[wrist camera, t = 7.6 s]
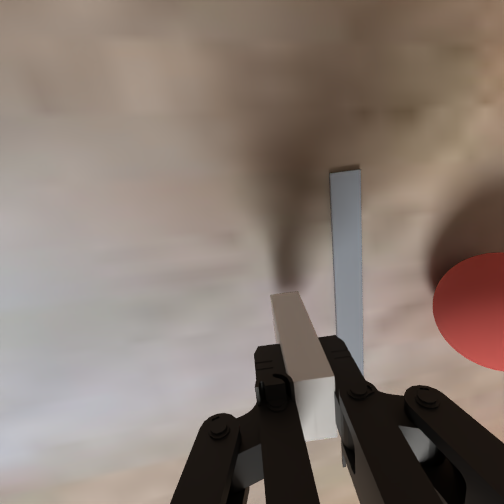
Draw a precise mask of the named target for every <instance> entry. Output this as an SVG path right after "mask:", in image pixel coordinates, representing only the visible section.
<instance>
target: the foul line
mask: <svg viewBox="0 0 504 504" xmlns="http://www.w3.org/2000/svg"><path fill="white" fill-rule="evenodd" d="M329 179H330V201H331V224H332V246H333V268H334V290H335V312H336V334H337V337H339V338H340V339H341V340H343V341H344V342H345V344H346V346H347V348H348V351H350V353H351V355H352V357H353V359H354V360H355V362H356V364H357V366H358V368H359V370H360V371H361V373H362V375H363V305H362V234H361V170H360V169H358V170H350V171H343V172H336V173H329ZM363 377H364V376H363Z"/></svg>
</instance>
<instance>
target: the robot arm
mask: <svg viewBox="0 0 504 504" xmlns="http://www.w3.org/2000/svg"><path fill="white" fill-rule="evenodd" d="M270 297H271V305H272V314H273V322H274V330H275V339H276V344H273V345H266V346H258V348H257V350H256V352H255V354H254V359H255V370H256V384H255V392H256V398H257V403H256V405H255V406H254V408H253V409H252V410H251V411H250V412H248V413H247V414H245V415H243V416H241V417H239V418H235V417H234V416H232V415H230V414H226V413H221V414H216V415H213V416H211V417H209V418H208V419H207V420H206V421H204V423H203V424H202V426H201V427H200V429H199V432H198V434H197V437H196V440H195V442H194V445H193V447H192V450H191V452H190V455H189V457H188V460H187V462H186V465H185V467H184V470H183V472H182V475H181V477H180V480H179V482H178V485H177V487H176V490H175V492H174V495H173V498H172V500H171V503H170V504H247V499H248V494H249V486H251V485H252V484H254V483H256V482H258V481H260V480H262V479H264V485H265V496H266V504H320V502H319V498H318V493H317V489H316V485H315V481H314V477H313V472H312V468H311V464H310V460H309V455H308V451H307V447H306V443H305V442H306V441H313V440H320V439H327V438H335V437H338V436H337V428H338V431H339V434H340V437H341V448H342V464H343V467H346V464H347V467H348V470H349V472H350V475H351V478H352V481H353V484H354V487H355V490H356V493H357V496H358V499H359V501H360V504H504V443H503V442H501V441H500V440H499V439H498V438H496V437H495V436H494V435H493V434H492V433H490V432H489V431H488V430H487V429H486V428H484V427H483V426H482V425H481V424H479V423H478V422H477V421H476V420H475V419H473V418H472V417H471V416H470V415H469V414H467V413H466V412H465V411H464V410H462V409H461V408H460V407H459V406H458V405H456V404H455V403H454V402H453V401H452V400H450V399H449V398H448V397H447V396H445V395H444V394H443V393H441V392H440V391H438V390H437V389H434V388H431V387H429V386H422V385H417V386H411V387H410V388H408V389H407V390H406V392H405V394H404V396H401V395H392V394H386V393H383V392H380V391H378V390H377V389H376V388H375V386H374V385H373V384H371V383H369V382H368V381H366V380H365V379H364V377H363V375H362V373H361V371H360V370H359V368H358V366H357V364H356V362H355V360H354V359H353V357H352V355H351V353H350V351H348V348H347V346H346V344H345V342H344V341H343V340H341V339H340V338H339V337H337V336H336V335H333V336H326V337H319V338H318V337H317V334H316V332H315V330H314V327H313V325H312V323H311V320H310V318H309V316H308V313H307V311H306V309H305V306H304V304H303V302H302V299H301V297H300V295H299V292H298V291H296V292H289V293H282V294H274V295H270Z"/></svg>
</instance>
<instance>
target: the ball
mask: <svg viewBox="0 0 504 504" xmlns="http://www.w3.org/2000/svg"><path fill="white" fill-rule="evenodd" d="M433 314H434V318H435V322H436V324H437V327H438V329H439V331H440V333H441V334H442V336H443V337H444V338H445V340H446V341H447V342H448V343H449V344H450V345H451V347H453V348H454V349H455V350H456V351H457V352H458V353H460V354H461V355H463V356H464V357H465V358H467V359H469V360H471V361H473V362H475V363H477V364H479V365H481V366H484V367H487V368H490V369H494V370H499V371H504V253H486V254H481V255H477V256H473V257H470V258H468V259H466V260H463V261H461V262H460V263H458V264H456V265H455V266H454V267H452V268H451V269H450V270H449V271H448V272H447V273H446V274H445V275H444V276H443V277H442V279H441V280H440V281H439V283H438V285H437V287H436V290H435V293H434V297H433Z"/></svg>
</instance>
